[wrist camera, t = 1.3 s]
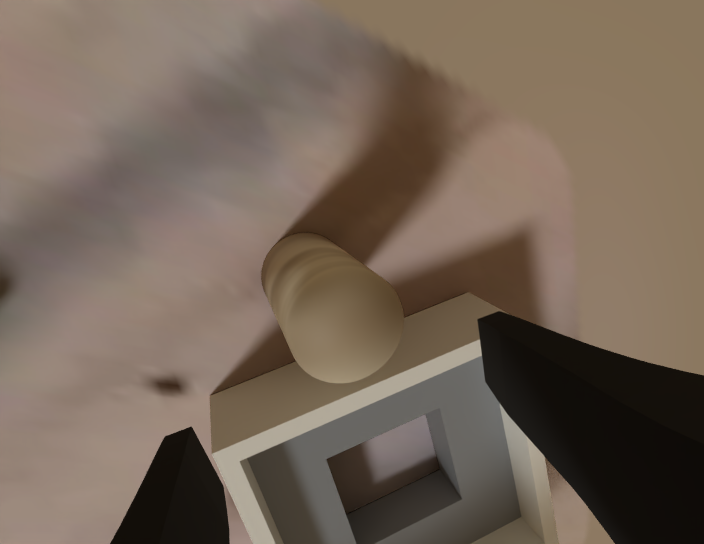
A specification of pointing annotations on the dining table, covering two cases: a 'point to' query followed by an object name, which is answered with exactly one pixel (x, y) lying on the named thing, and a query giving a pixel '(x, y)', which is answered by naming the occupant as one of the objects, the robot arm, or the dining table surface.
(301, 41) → the dining table surface
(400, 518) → the box
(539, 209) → the dining table surface
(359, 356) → the peg
